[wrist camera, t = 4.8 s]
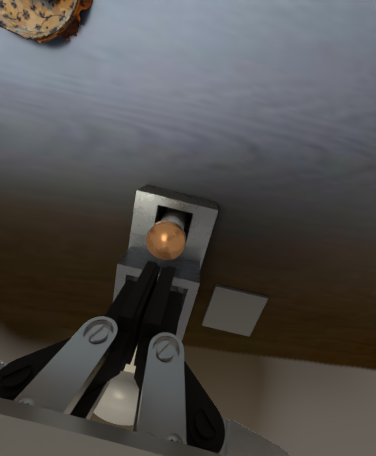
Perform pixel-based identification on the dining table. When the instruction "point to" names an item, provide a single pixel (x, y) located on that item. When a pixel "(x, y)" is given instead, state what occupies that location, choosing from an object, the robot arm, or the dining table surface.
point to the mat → (233, 310)
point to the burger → (42, 18)
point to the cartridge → (121, 395)
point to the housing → (185, 263)
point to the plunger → (168, 235)
